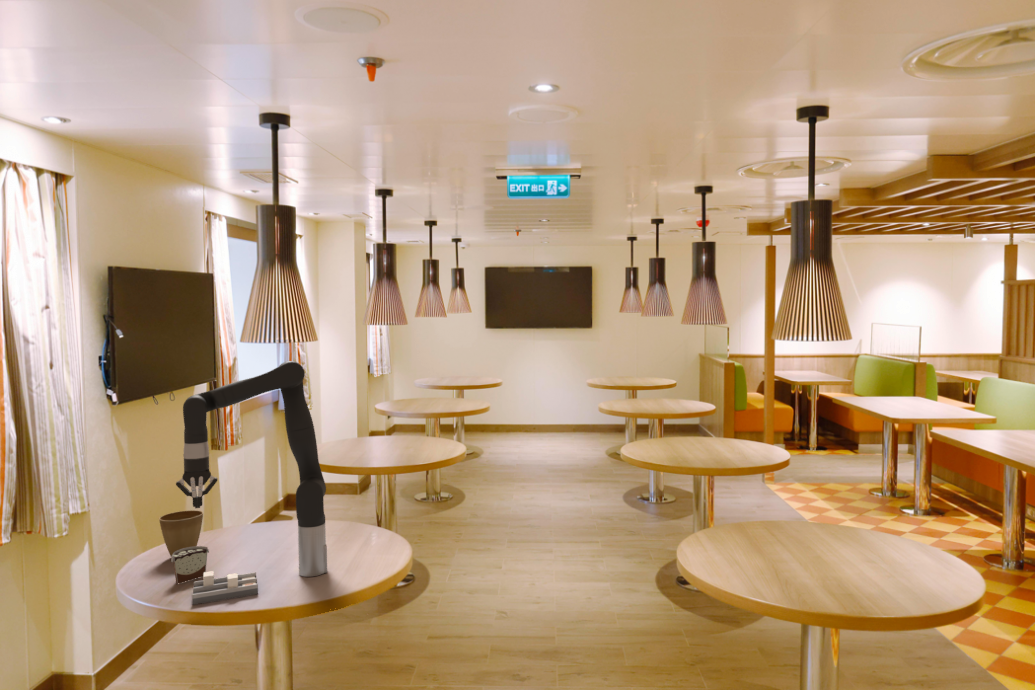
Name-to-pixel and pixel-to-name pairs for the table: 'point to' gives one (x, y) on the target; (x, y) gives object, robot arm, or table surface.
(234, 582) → the near tab
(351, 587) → the table surface
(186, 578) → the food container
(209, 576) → the far tab
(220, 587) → the switch panel
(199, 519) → the plant pot
